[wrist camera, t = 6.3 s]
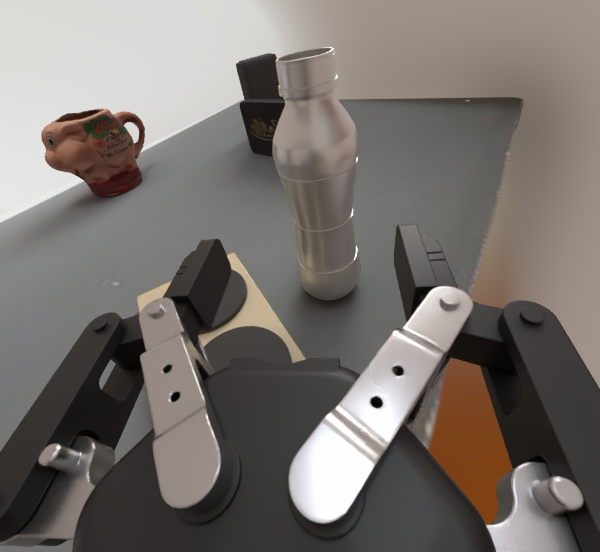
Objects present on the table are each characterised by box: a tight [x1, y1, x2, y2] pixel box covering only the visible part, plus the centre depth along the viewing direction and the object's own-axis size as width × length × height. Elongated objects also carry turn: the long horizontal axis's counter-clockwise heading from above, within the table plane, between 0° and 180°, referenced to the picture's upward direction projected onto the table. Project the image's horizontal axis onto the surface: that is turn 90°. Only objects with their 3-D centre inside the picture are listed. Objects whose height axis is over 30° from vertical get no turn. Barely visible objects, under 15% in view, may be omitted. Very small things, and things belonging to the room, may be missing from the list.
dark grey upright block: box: [236, 54, 284, 100], centre depth 67 cm, size 9×4×15 cm, turn 124°
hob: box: [137, 253, 306, 372], centre depth 26 cm, size 12×22×3 cm, turn 30°
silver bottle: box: [272, 47, 361, 300], centre depth 24 cm, size 6×7×20 cm
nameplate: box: [240, 99, 285, 156], centre depth 54 cm, size 21×2×10 cm, turn 53°
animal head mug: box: [42, 109, 145, 196], centre depth 57 cm, size 20×12×14 cm, turn 153°
